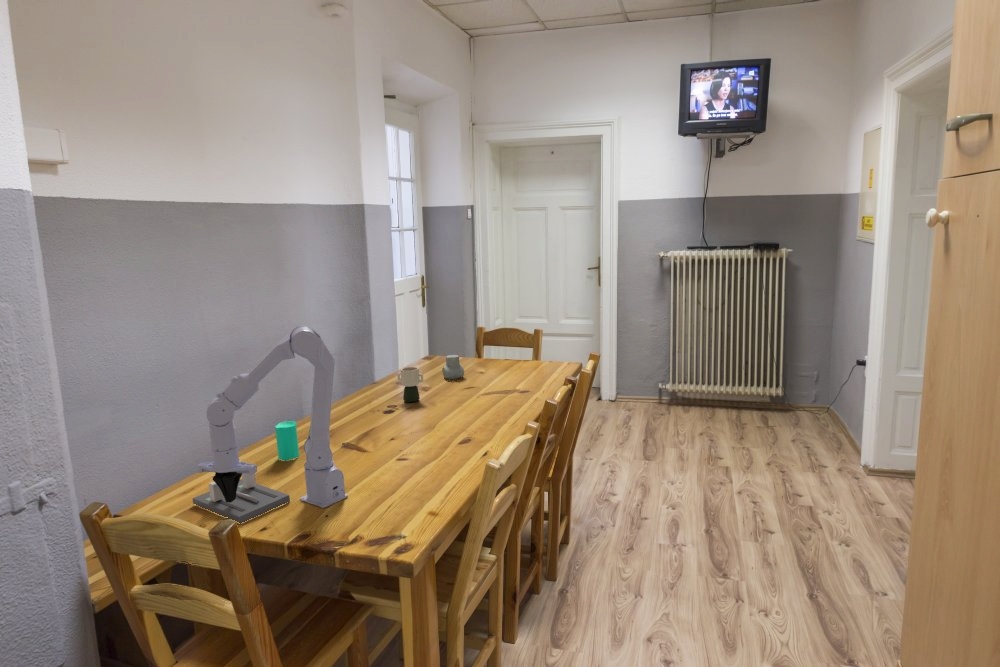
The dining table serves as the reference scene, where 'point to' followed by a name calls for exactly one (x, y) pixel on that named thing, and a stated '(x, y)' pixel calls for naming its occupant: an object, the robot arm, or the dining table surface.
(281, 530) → the dining table surface
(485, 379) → the dining table surface
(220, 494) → the block
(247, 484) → the breaker
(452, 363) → the air freshener
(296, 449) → the candle
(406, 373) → the character mug
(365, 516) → the dining table surface
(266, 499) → the slider control panel
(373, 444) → the dining table surface
